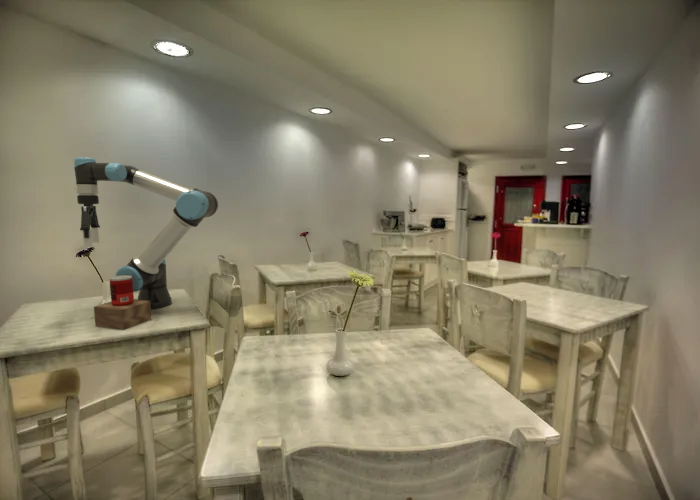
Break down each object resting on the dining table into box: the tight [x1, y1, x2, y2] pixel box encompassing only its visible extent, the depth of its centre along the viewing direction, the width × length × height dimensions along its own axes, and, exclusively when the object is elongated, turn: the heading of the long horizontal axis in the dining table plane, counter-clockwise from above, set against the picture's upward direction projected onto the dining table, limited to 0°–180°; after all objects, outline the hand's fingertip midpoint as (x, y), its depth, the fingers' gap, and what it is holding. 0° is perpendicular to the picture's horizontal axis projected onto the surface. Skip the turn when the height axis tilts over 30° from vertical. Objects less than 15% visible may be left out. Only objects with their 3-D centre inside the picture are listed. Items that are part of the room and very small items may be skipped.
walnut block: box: [93, 298, 152, 331], centre depth 155 cm, size 14×14×8 cm
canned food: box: [109, 275, 135, 306], centre depth 154 cm, size 8×8×11 cm
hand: (91, 244), depth 165 cm, fingers open, 13 cm apart
